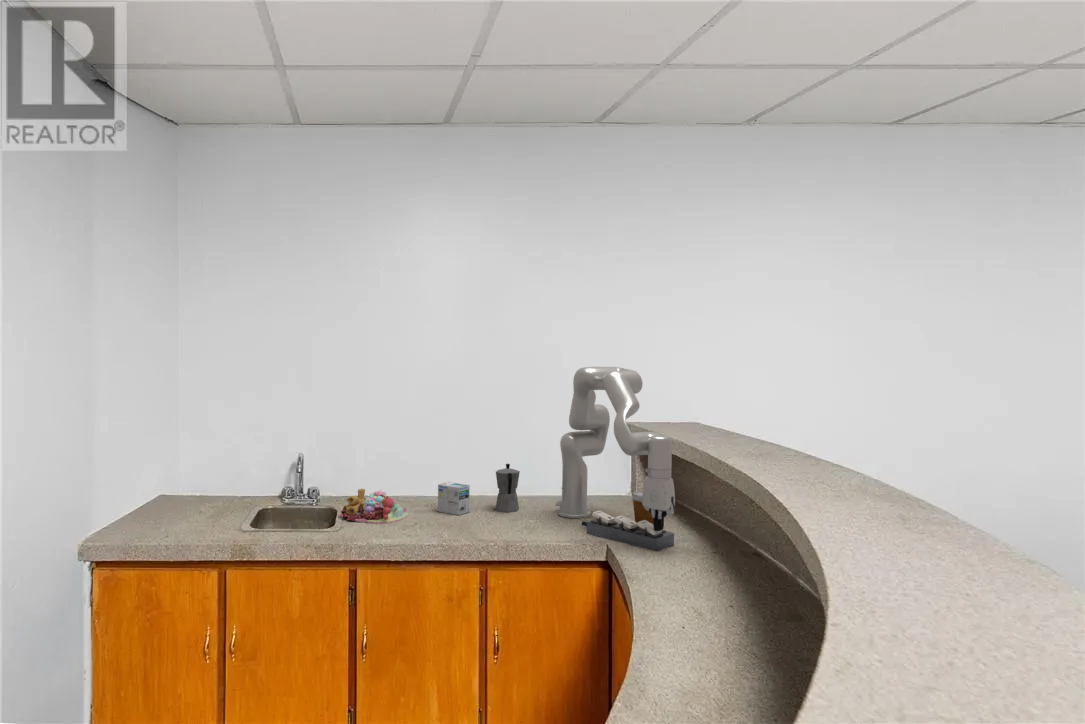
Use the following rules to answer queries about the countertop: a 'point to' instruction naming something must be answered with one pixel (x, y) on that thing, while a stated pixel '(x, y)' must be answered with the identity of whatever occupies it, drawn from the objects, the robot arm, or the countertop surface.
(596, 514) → the rocker
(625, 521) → the rocker
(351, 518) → the candy landscape model
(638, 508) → the disposable coffee cup
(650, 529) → the rocker
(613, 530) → the power strip
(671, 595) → the countertop surface
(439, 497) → the light bulb box
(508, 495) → the coffeepot
